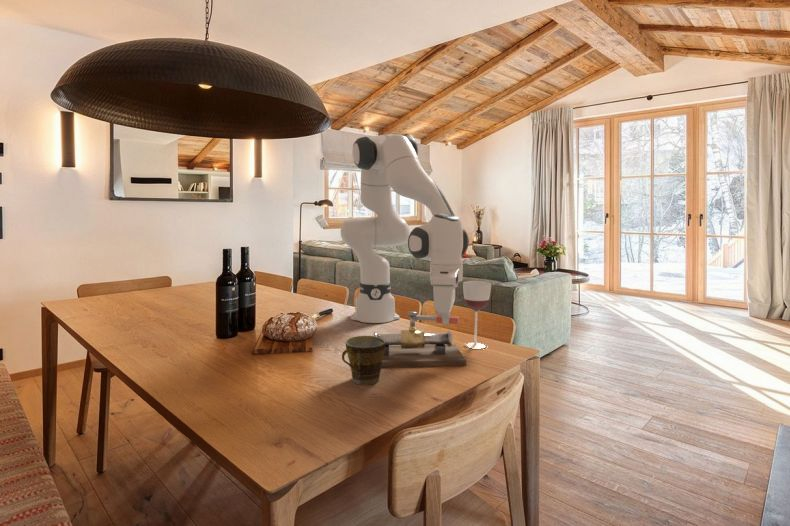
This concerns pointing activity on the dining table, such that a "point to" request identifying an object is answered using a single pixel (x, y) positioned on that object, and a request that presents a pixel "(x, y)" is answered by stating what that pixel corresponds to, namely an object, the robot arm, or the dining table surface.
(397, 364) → the walnut board
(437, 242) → the robot arm
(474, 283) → the wineglass
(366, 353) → the ceramic cup
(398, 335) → the pipe valve
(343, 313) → the dining table surface
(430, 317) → the valve lever
